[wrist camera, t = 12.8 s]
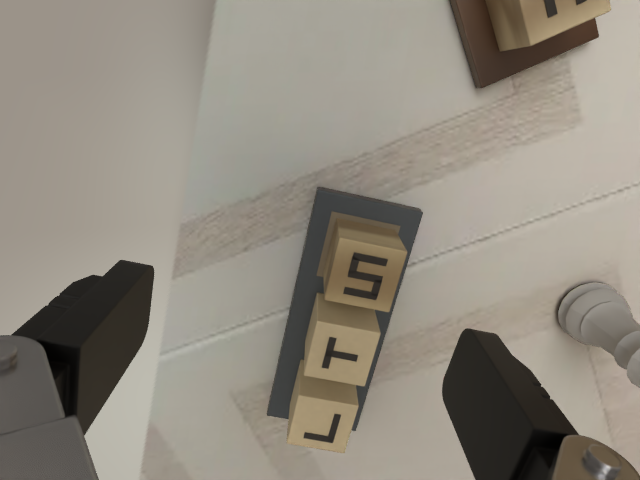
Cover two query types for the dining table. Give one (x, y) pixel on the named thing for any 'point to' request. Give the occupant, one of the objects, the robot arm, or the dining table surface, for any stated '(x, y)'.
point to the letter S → (363, 265)
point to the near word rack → (522, 32)
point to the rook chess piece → (603, 324)
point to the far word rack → (332, 330)
